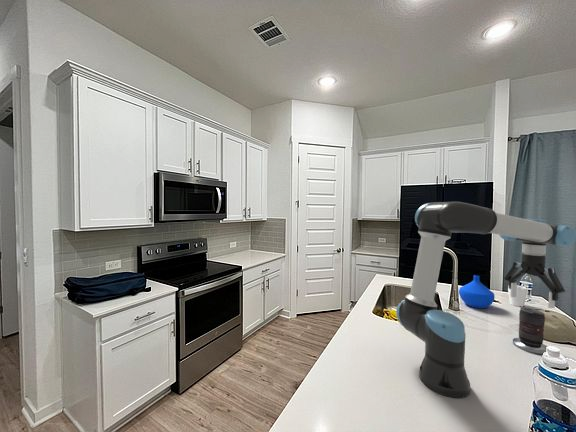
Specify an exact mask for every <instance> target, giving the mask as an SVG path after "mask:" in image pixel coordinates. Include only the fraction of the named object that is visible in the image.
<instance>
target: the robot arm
mask: <svg viewBox="0 0 576 432" xmlns="http://www.w3.org/2000/svg"><path fill="white" fill-rule="evenodd" d="M414 222H415V225H416V226H417V227H418V230H417V233H418V234H419V236H420V241H419V247H418V251H417V257H416V263H415V267H414V272H413V278H412V282H411V283H412V284H411V286H410V287H411V288H410V293H408V294H406V295H404V296H405V298H404V299H403V300H401V302H399V303H398V305H397V307H396V318H397V321H398V323H399V324H400V325H401V326H402V327H403V328H404V329H405V330H406V331H408V332H410V333H411V334H412V335H414V336H415V337H416V338H418V339H419V340H421V341H422V342H424V344H425V345H424V353H425V354H424V357H423V359H422V361H421V365H420V366H419V369H418V370H419V373H418V374H419V375H418V376H419V379H420V380H421V382H422V384H424V385H425V386H426V387H428V388H429V389H430V390H432V391H434V392H435V393H438V394H440V395H442V396H445V397H449V398H453V399H460V398H466V397H468V396H469V395H470V393H471V382H470V380H469V378H468V374H467V370H466V367H465V357H466V356H465V355H466V354H465V352H466V351H465V350H466V329H465V323H464V322H463V320H461V319H460V318H459V317H458V316H457V315H455V314H453V313H450V312H447V311H444V310H440V309H438V304H437V303H436V301H435V295H436V291H437V285H438V280H439V277H440V276H439V275H440V270H441V264H442V261H443V255H444V250H445V245H446V241H448V240H450V239H451V238H452V233H456V234H458V233H462V234H464V233H466V234H467V233H469V234H480V235H486V234H493V235H494V234H495V235H499V237H500V238H501V239H502V240H504V241H509V242H516V241H517V242H521V244H522V246H521V253H522V254H521V262H519V261H515V262H512V267H511V268H510V269H509V270H508V272H507V273H506V275H505V276H504V280H505V281H507V282H508V286H509V289H511V297H516V292H517V285H518V283H517V282H516V281H518V280H519V279H521V278H522V277H523V276H525V275H527V276H529V275H531V276H534V277H538V278H539V279H540V280H541V281H542V282H543V283H544V284H545V286H546V287H547V288H548V289H549V290H550V291H549V292H548V304H547V305H548V306H547V308H549V309H554V308H556V307H555V306H556V301H558V300H559V293H560V294H561V293H565V292H566V290H565V288H564V286H563V284H562V283H561V281H560V279H559V277H558V276H557V273H556V269H555V268H554V267H546V254H547V253H546V251H547V245H551V246H559V247H560V246H561V247H564V246H565V247H569V246H571V245H573V244H574V243H575V242H576V230H575V229H574V228H573V227H572V226H570V225H561V224H560V225H559V224H557V225H556V224H550V223H547V220H545V219H532V218H531V219H530V218H528V219H526V218H523V217H517V216H513V215H509V214H504V213H498V212H496V211H495V210H494V209H492V208H490V207H489V208H488V207H484V206H480V205H477V204H472V203H468V202H462V201H437V202H436V201H434V202H427V203H424V204H422V205H421V206H420V207H419V208H418V209H417V210H416V212H415V215H414ZM519 268H521V270H519ZM518 270H519V272H518V273H517V271H518ZM546 273H547V274H548V276H549V278H548V276H547V274H546Z"/></svg>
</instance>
